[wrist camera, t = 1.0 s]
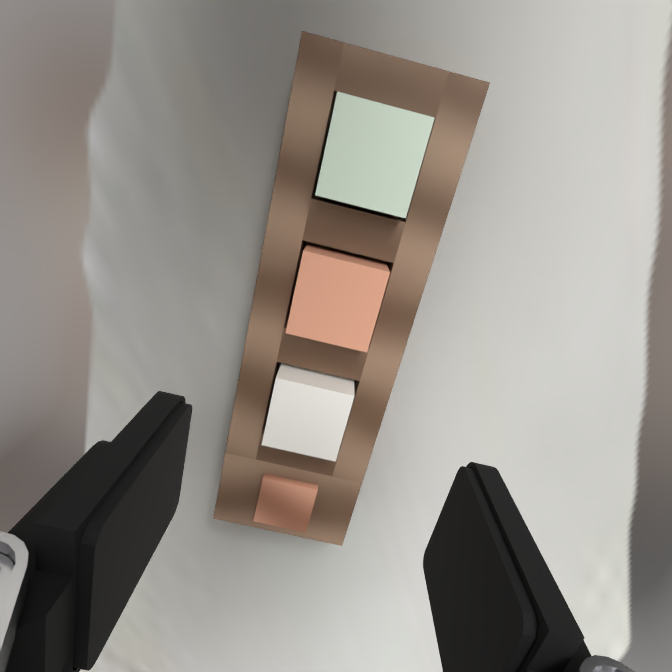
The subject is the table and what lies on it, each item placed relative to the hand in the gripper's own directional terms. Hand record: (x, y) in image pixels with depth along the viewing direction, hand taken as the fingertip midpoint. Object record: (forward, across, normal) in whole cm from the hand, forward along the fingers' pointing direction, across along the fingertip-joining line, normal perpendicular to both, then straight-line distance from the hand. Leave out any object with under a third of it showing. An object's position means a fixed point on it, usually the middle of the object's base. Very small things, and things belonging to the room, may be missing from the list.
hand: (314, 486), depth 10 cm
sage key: (+19, 0, -8) cm, 21 cm away
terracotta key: (+19, 0, 0) cm, 19 cm away
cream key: (+19, 0, +8) cm, 21 cm away
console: (+22, 0, +3) cm, 22 cm away
